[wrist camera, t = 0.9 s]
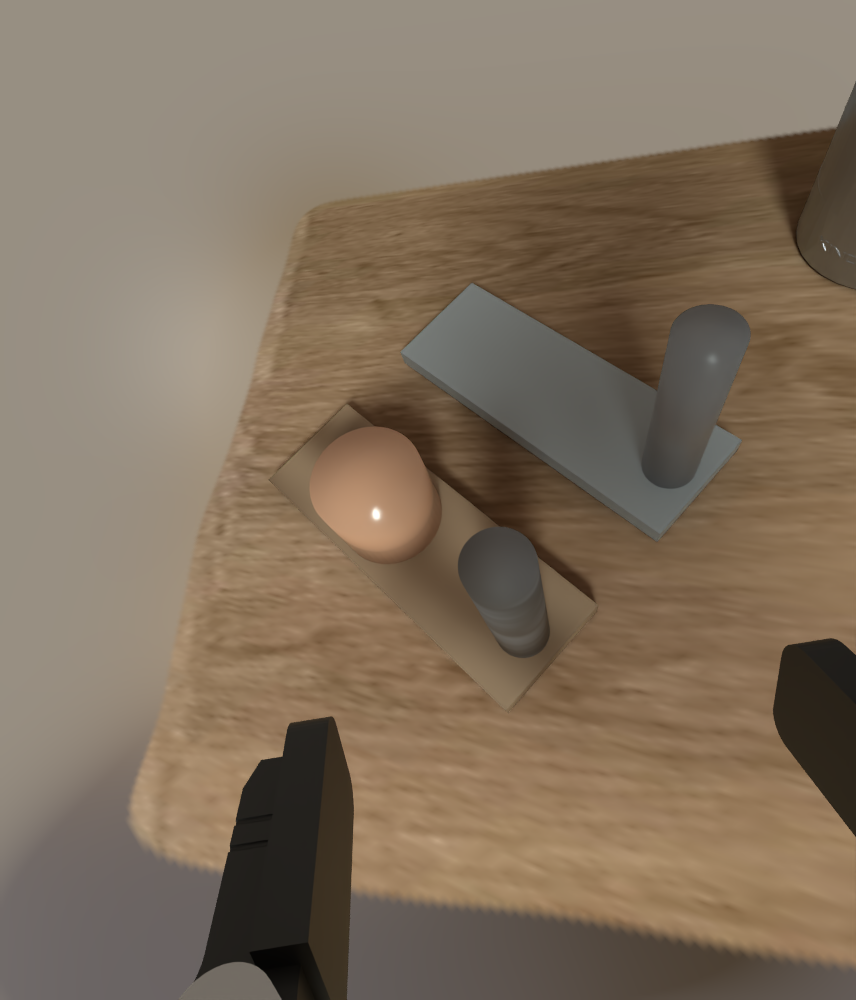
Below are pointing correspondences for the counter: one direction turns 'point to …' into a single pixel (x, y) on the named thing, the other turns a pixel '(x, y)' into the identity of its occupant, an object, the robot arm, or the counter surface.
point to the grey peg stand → (594, 400)
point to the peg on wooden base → (463, 582)
